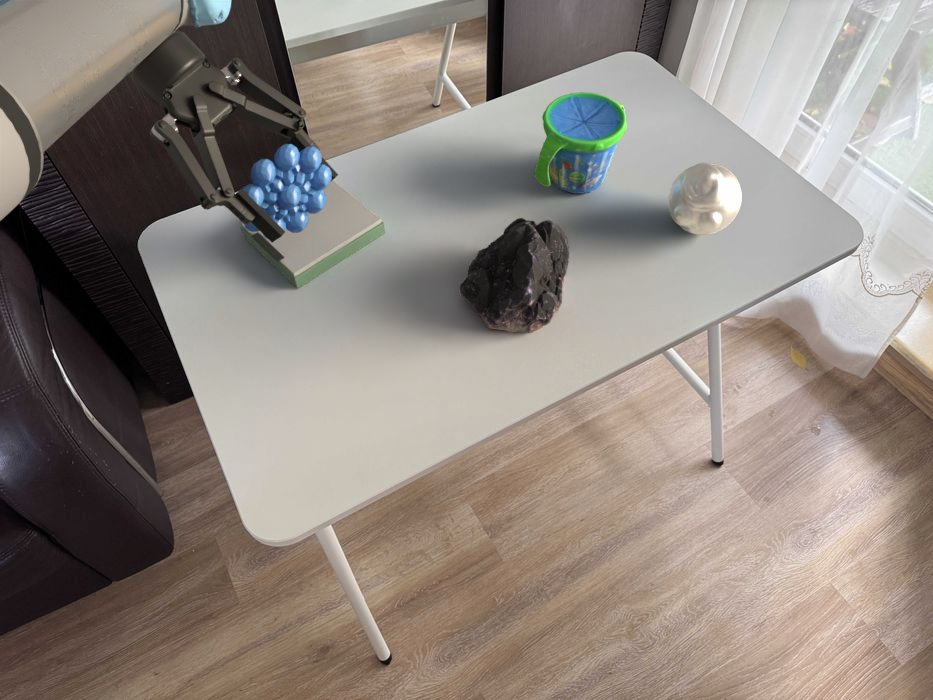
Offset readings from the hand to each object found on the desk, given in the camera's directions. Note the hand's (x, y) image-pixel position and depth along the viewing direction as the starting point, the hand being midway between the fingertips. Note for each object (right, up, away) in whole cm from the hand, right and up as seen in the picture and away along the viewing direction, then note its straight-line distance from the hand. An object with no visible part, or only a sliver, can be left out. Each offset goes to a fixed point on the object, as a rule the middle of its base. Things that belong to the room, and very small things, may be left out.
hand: (306, 207), depth 84 cm
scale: (-1, -2, +10) cm, 10 cm away
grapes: (-3, -2, +5) cm, 6 cm away
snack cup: (+34, +7, +16) cm, 38 cm away
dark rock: (+25, -10, +4) cm, 27 cm away
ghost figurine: (+49, -1, +9) cm, 50 cm away
